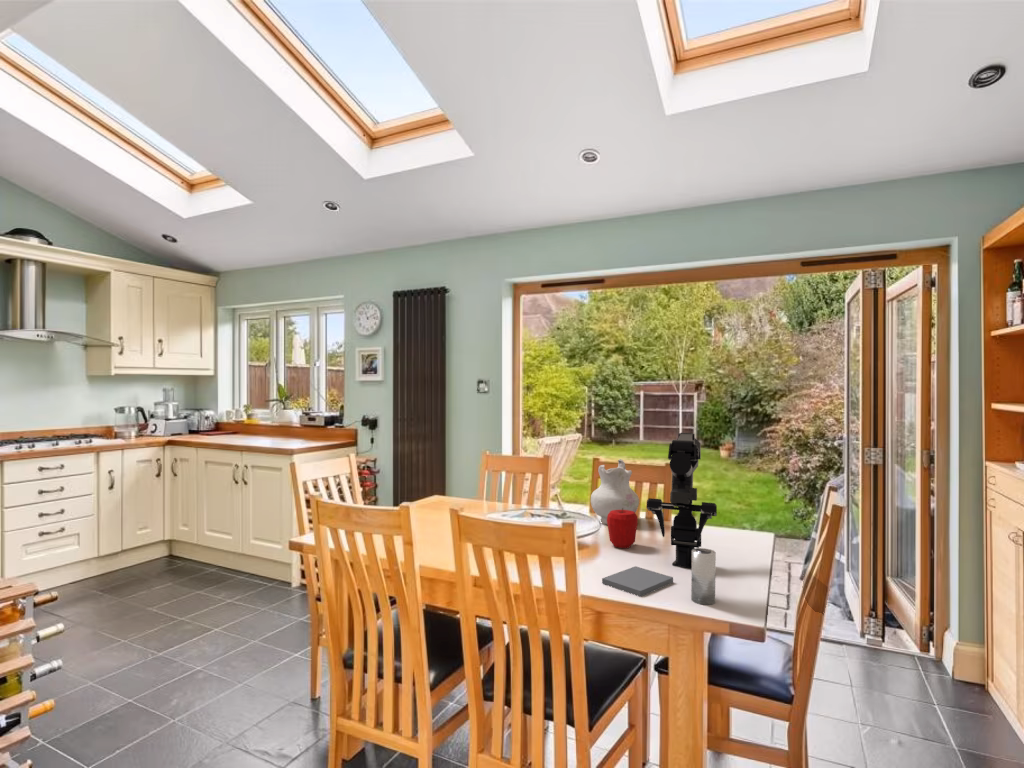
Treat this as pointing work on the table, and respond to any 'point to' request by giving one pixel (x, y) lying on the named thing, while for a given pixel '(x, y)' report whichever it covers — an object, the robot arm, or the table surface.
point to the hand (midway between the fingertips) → (680, 538)
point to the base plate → (637, 580)
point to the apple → (622, 527)
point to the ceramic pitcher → (614, 492)
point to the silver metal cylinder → (703, 576)
